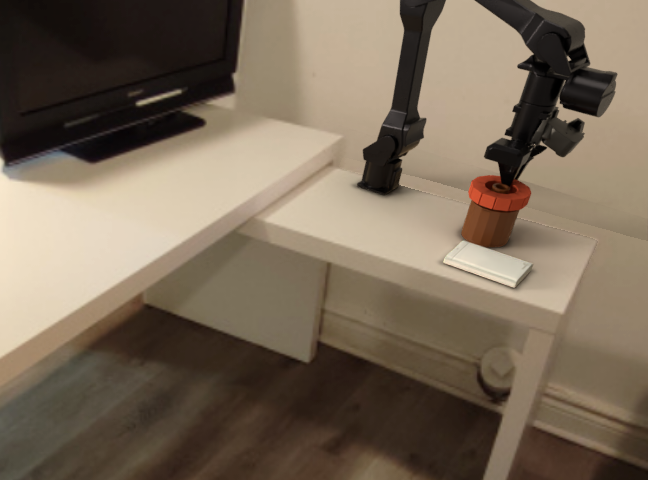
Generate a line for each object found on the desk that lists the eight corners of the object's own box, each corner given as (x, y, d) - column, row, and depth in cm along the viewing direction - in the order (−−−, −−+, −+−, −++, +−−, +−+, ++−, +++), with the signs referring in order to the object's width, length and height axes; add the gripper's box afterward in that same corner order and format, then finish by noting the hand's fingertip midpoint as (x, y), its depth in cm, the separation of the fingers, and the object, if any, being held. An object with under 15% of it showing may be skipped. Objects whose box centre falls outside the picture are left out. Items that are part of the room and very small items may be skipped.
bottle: (453, 236, 147) (469, 186, 141) (472, 222, 152) (488, 173, 145) (496, 252, 143) (515, 201, 136) (514, 236, 147) (533, 186, 141)
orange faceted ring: (458, 198, 142) (462, 186, 141) (483, 181, 148) (486, 170, 146) (512, 216, 137) (516, 204, 136) (535, 198, 142) (540, 187, 141)
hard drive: (534, 262, 137) (463, 238, 143) (517, 281, 132) (445, 255, 138) (530, 270, 138) (461, 246, 144) (513, 289, 133) (442, 263, 139)
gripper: (567, 128, 124) (532, 218, 134) (607, 99, 135) (572, 184, 145) (497, 109, 130) (469, 197, 140) (541, 83, 141) (512, 166, 151)
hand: (508, 186), depth 144 cm, fingers closed on orange faceted ring, 2 cm apart
